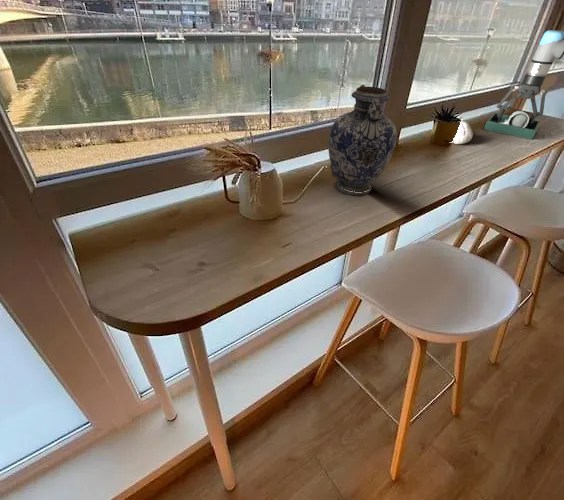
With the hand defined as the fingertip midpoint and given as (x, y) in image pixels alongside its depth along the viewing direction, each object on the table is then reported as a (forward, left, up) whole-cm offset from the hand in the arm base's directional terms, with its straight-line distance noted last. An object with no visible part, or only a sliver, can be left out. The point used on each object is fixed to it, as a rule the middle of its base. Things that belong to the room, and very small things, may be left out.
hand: (511, 127), depth 151 cm
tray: (0, 0, -1) cm, 1 cm away
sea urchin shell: (+17, +34, -1) cm, 38 cm away
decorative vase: (+30, +101, -1) cm, 105 cm away
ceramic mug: (0, 0, 0) cm, 0 cm away
